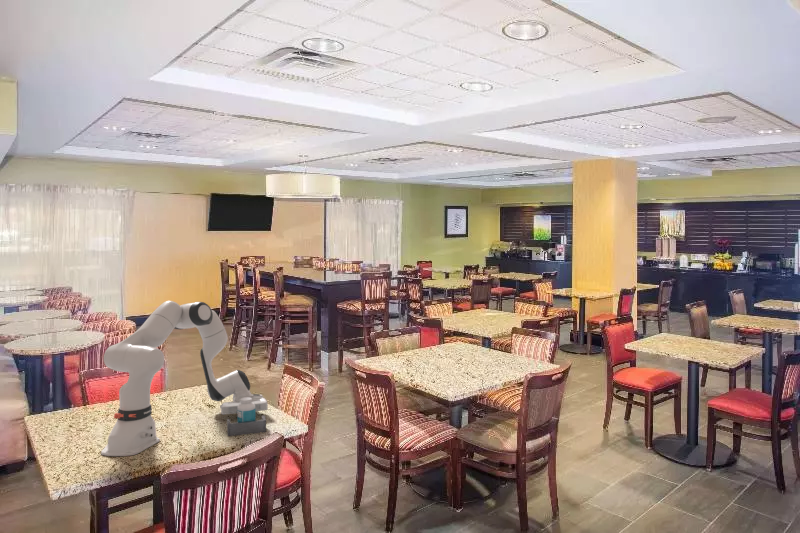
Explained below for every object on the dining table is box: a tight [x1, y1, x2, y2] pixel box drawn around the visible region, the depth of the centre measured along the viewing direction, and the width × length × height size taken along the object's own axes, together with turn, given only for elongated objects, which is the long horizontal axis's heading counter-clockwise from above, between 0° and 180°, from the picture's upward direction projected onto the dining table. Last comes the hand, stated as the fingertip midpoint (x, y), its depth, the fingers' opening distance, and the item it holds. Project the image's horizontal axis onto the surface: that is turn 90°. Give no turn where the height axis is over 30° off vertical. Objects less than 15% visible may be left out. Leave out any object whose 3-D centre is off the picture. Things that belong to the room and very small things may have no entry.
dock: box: [226, 415, 267, 437], centre depth 235 cm, size 7×15×5 cm, turn 109°
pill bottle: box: [236, 397, 257, 422], centre depth 237 cm, size 8×7×14 cm
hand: (245, 411), depth 245 cm, fingers closed
